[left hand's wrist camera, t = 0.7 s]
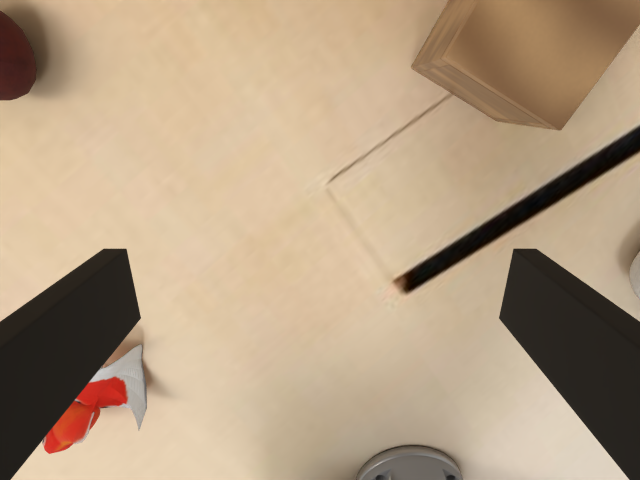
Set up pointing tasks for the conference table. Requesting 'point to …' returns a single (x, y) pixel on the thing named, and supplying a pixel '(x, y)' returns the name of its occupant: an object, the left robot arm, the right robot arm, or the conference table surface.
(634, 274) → the projector
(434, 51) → the chest
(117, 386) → the fish
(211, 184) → the conference table surface
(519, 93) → the lid
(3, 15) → the dark maroon ball
